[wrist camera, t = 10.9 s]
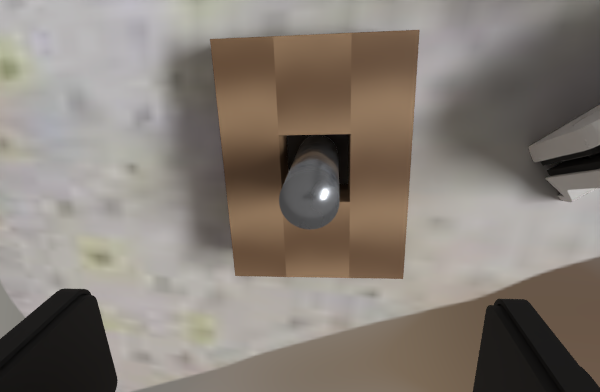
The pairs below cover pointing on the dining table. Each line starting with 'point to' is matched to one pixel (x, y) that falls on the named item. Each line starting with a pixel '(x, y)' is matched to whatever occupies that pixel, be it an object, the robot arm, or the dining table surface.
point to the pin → (312, 184)
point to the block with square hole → (318, 121)
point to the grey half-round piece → (572, 156)
